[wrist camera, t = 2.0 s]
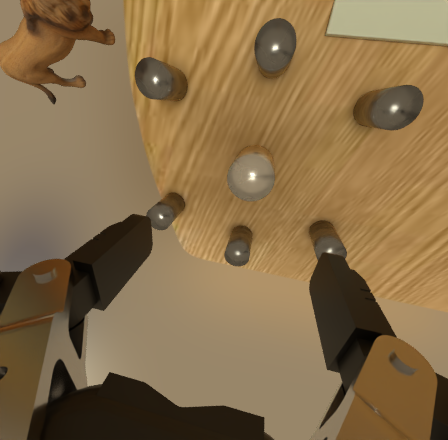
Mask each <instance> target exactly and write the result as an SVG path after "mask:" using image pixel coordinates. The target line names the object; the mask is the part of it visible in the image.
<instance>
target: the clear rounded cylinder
mask: <svg viewBox="0 0 448 440" xmlns="http://www.w3.org/2000/svg"><path fill="white" fill-rule="evenodd" d="M227 181H228V185H229V188H230V190H231V191H232V193H233V194H234V195H235V196H237V197H238V198H240V199H242V200H245V201H257V200H260V199H262V198H264V197H265V196H267V195H268V194H269V193H270V191H271V190H272V188H273V185H274V181H275V174H274V160H273V157H272V154H271V153H270V151H269V150H268V149H266V148H265V147H263V146H260V145H251V146H248V147H246V148H245V149H243V150H242V151H241V152H240V154H239V155H238V157H237V158H236V159H235V161H234V162H233V164H232V165H231V167H230V169H229V171H228V175H227Z"/></svg>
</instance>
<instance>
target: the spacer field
mask: <svg viewBox="0 0 448 440" xmlns="http://www.w3.org/2000/svg"><path fill="white" fill-rule="evenodd" d="M295 48H296V33H295V30H294V28H293V26H292V25H291V24H290V23H289V22H288V21H287V20H284V19H281V18H277V19H273V20H270V21H268V22H267V23H266V24H265V25H264V26H263V27H262V28H261V29H260V31H259V33H258V35H257V37H256V40H255V56H256V59H257V63H258V66H259V69H260V72H261V73H262V74H263V75H264V76H265V77H267V78H271V79H273V78H277V77H279V76H281V75H282V74H283V73H284V72H285V71H286V70H287V68H288V66H289V64H290V61H291V59H292V56H293V54H294V51H295ZM135 80H136V84H137V86H138V88H139V90H140V91H141V93H142V94H143V95H144V96H146V97H148V98H150V99H159V100H170V101H179V100H181V99H182V98H183V97H184V96H185V95H186V93H187V88H188V84H187V79H186V77H185V75H184V74H183V72H182V71H181V70H179V69H177V68H175V67H173V66H170V65H168V64H166V63H163V62H161V61H159V60H156V59H154V58H150V57H147V58H144V59H142V60H141V61H140V62H139V63H138V65H137V67H136V70H135ZM422 106H423V94H422V92H421V91H420V90H419V89H418V88H417V87H415V86H412V85H403V86H397V87H392V88H386V89H380V90H375V91H371V92H368V93H366V94H365V95H363V96H362V97H361V98H360V99H359V100H358V102H357V103H356V105H355V108H354V118H355V120H356V122H357V123H358V124H360V125H363V126H369V127H374V128H380V129H385V130H398V129H401V128H404V127H405V126H407V125H409V124H410V123H411V122H413V121H414V120H415V119H416V117H417V116H418V115H419V113H420V111H421V109H422ZM184 208H185V202H184V199H183V198H182V197H181V196H180V195H179V194H177V193H169V194H168V195H166V196H165V197H164V198H163V199H162V200H160V201H159V202H158V203H157V204H156V205H154V206H153V207H152V208H151V209H150V210H148V212H147V215H146V216H147V217H149V218H150V219H151V226H152V227H153V228H155V229H157V230H165V229H167V228H168V227H169V226H170V224H171V223H172V222H173V221H174V220H175V219H176V218H177V216H178V215H179V214H180V213H181V212H182V211H183V209H184ZM309 234H310V237H311V240H312V244H313V247H314V250H315V253H316V256H317V259H318V261H319V258H320V256H321V254H322V253H323V252H326V253H331V254H336V255H341V256H343V257H344V258H346V256H347V251H346V249H345V247H344V245H343V243H342V241H341V239H340V238H339V236H338V234H337V232H336V230H335V228H334V226H333V225H332V224H331V223H330V222H327V221H318V222H316V223H314V224H313V225H312V226H311V227H310V229H309ZM251 242H252V232H251V230H250V229H249V228H248V227H245V226H237V227H235V228H234V229H233V230H232V232H231V235H230V238H229V242H228V245H227V248H226V251H225V259H226V261H227V262H228V263H229V264H231V265H233V266H243V265H245V264H246V263H247V262H248V261H249V256H250V249H251Z"/></svg>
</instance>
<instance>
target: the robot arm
mask: <svg viewBox="0 0 448 440" xmlns="http://www.w3.org/2000/svg"><path fill="white" fill-rule="evenodd" d="M152 245H153V242H152V228H151V219H150V218H149V217H147V216H142V215H137V214H132V215H130V216H129V217H128V218H126V219H125V220H124V221H123V222H118V223H116V224H114V225H111V226H109V227H107V228H106V229H105V230H103V231H102V232H101V233H100V234H98V235H96V236H95V237H94V238H93V239H91V240H90V241H88V242H87V243H86V244H84V245H83V246H81V247H80V248H79V249H78V250H76V251H75V252H73V253H72V254H71V255H69V256H68V257H66V258H65V259H49V260H45V261H41V262H38V263H36V264H34V265H31V266H30V267H28V268H26V269H25V270H24V271H21V272H1V271H0V440H274V439H273V438H272V437H271V436H269V435H268V434H267V433H265V432H264V417H261V416H257V415H254V414H251V413H247V412H243V411H240V410H237V409H234V408H230V407H226V406H204V407H179V406H177V405H175V404H174V403H172V402H171V401H170V400H168V399H167V398H166V397H164V396H163V395H162V394H160V393H159V392H157V391H156V390H155V389H153V388H152V387H150V386H149V385H148V384H146V383H144V382H141V381H138V380H135V379H131V378H128V377H124V376H121V375H118V374H114V373H111V372H109V374H108V376H107V378H106V379H105V381H104V382H103V384H99V385H94V386H89V387H87V377H86V371H85V358H86V341H87V327H88V316H87V313H88V312H89V311H90V310H91V309H92V308H95V309H99V310H103V311H104V310H105V309H106V308H107V306H108V305H109V304H110V303H111V301H112V300H113V299H114V298H115V296H116V295H117V294H118V293H119V292H120V290H121V289H122V288H123V287H124V286H125V284H126V283H127V282H128V281H129V279H130V278H131V277H132V276H133V274H134V273H135V272H136V271H137V270H138V268H139V267H140V266H141V265H142V263H143V262H144V261H145V260H146V259H147V257H148V256H149V255H150V253H151V250H152ZM309 290H310V295H311V300H312V304H313V309H314V313H315V318H316V322H317V327H318V331H319V336H320V340H321V345H322V349H323V354H324V358H325V363H326V367H327V370H331V371H335V372H338V373H340V375H341V379H342V382H341V384H340V385H339V386H338V389H337V390H336V392H335V394H334V396H333V398H332V400H331V402H330V404H329V405H328V407H327V409H326V411H325V413H324V415H323V417H322V419H321V421H320V423H319V424H318V426H317V428H316V430H315V432H314V434H313V435H312V437H311V439H310V440H448V379H447V378H445V377H443V376H441V375H439V374H437V373H435V372H434V370H433V368H432V367H431V365H430V364H429V362H428V361H427V360H426V359H425V358H424V356H422V355H421V354H420V353H419V352H418V351H417V350H416V349H415V348H413V347H412V346H411V345H409V344H408V343H406V342H404V341H403V340H401V339H398V338H397V337H396V335H395V333H394V332H393V330H392V328H391V326H390V324H389V323H388V321H387V319H386V317H385V315H384V314H383V312H382V310H381V308H380V307H379V305H378V303H377V302H376V300H375V298H374V296H373V294H372V293H370V291H371V290H370V289H369V287H368V285H367V283H366V282H365V280H364V279H363V278H362V277H361V276H360V275H359V274H358V273H357V272H356V271H355V270H351V269H350V268H349V266H348V264H347V262H346V260H345V258H344V257H343V256H341V255H336V254H331V253H326V252H323V253H322V254H321V256H320V258H319V261H318V263H317V265H316V268H315V270H314V272H313V274H312V277H311V280H310V287H309Z"/></svg>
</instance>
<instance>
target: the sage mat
mask: <svg viewBox="0 0 448 440" xmlns="http://www.w3.org/2000/svg"><path fill="white" fill-rule="evenodd" d="M325 36H333V37H345V38H357V39H369V40H380V41H392V42H404V43H416V44H428V45H439V46H448V0H334V4H333V8H332V11H331V15H330V19H329V22H328V26H327V30H326V34H325Z"/></svg>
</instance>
